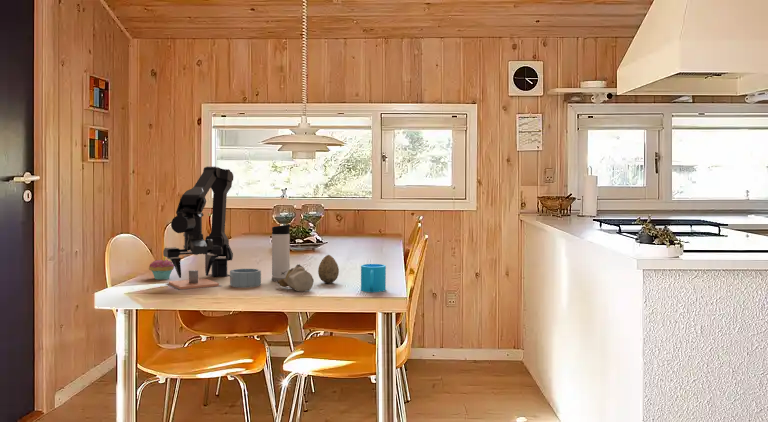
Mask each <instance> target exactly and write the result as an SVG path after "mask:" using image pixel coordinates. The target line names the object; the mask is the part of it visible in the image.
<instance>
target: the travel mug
mask: <svg viewBox="0 0 768 422" xmlns="http://www.w3.org/2000/svg"><path fill="white" fill-rule="evenodd" d="M290 227H291V224H286V225H277V226H272V227H271V280H272V281H273V280H274V281H273V282H277V280H281V279H286V275H287V273H288V271H289V270H290V269H291V267H290V265H291V264H290V262H291V260H290V259H291V257H290V250H291V247H290V246H291V245H290V241H291V239H290V237H291V236H290Z"/></svg>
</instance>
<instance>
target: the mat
mask: <svg viewBox="0 0 768 422" xmlns="http://www.w3.org/2000/svg"><path fill="white" fill-rule="evenodd" d="M165 285H166V286H169V287H171V288H173V289H175V290H177V291H186V290H188V289H178V288H176V287H174V286H172V285H170V284H169V282H167V283H165ZM217 287H218V288H219V287H221V288H222V285H221V284H219V286H214V287H213V288H217ZM209 288H211V287H202V288H201V289H209ZM196 289H200V288H191V289H190V290H196Z"/></svg>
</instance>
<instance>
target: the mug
mask: <svg viewBox="0 0 768 422" xmlns="http://www.w3.org/2000/svg"><path fill="white" fill-rule="evenodd" d="M386 266H387V265H386V264H383V263H382V264H381V263H366V264H365V263H364V264H361V266H360V291H362V292H365V293H379V292H380V291H382V292H386V289H387V287H386V283H387V281H386V280H387V279H386V277H387V276H386V274H387V273H386V272H387V270H386V269H387V267H386ZM380 293H381V292H380Z"/></svg>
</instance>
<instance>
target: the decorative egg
mask: <svg viewBox="0 0 768 422" xmlns="http://www.w3.org/2000/svg"><path fill="white" fill-rule="evenodd" d="M339 270H340V268H339V265H338V263H337V261H336V259H335V258H334V257H333V256H332V255H330V254H327V255H325V256H324V257H323V258H322V259H321V260H320V263H319V266H318V270H317V274H318V277H319V279H320V280H321V281H322V282H323V283H324V284H332V283H334V282H335V281H337V280H338V276H339V272H340V271H339Z"/></svg>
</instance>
